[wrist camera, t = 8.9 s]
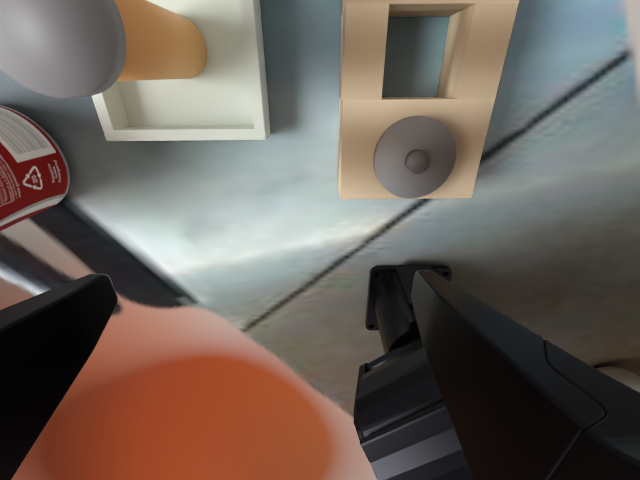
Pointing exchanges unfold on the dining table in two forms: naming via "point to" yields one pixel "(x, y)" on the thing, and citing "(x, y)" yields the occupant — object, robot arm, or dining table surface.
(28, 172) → the soda can
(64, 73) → the pin
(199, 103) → the tray
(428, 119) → the block
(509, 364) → the robot arm
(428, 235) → the dining table surface
